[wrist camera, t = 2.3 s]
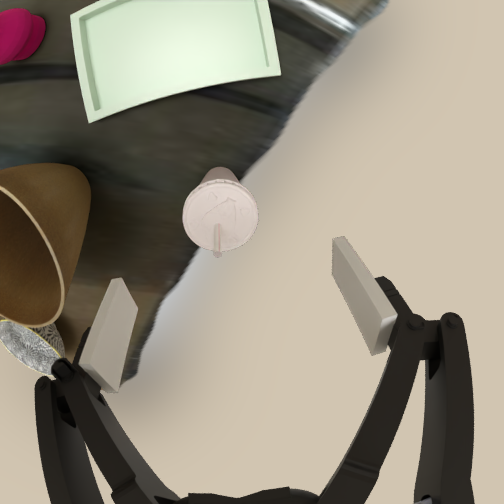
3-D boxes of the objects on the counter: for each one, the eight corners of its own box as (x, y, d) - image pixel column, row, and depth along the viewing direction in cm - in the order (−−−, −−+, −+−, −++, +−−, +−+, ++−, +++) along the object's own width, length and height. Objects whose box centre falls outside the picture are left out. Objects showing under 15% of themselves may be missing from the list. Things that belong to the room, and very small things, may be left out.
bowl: (86, 354, 45) (77, 384, 39) (30, 342, 43) (18, 367, 36) (60, 295, 37) (44, 328, 30) (1, 286, 34) (-17, 313, 28)
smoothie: (182, 194, 31) (161, 265, 19) (207, 145, 28) (197, 188, 16) (231, 216, 33) (240, 294, 21) (258, 170, 30) (285, 229, 18)
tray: (97, 120, 24) (89, 123, 22) (79, 18, 16) (70, 15, 14) (276, 76, 24) (281, 75, 22) (255, -29, 17) (258, -38, 15)
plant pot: (84, 260, 34) (39, 348, 20) (14, 197, 27) (-55, 261, 13) (144, 187, 29) (92, 270, 16) (61, 110, 22) (-35, 142, 9)
